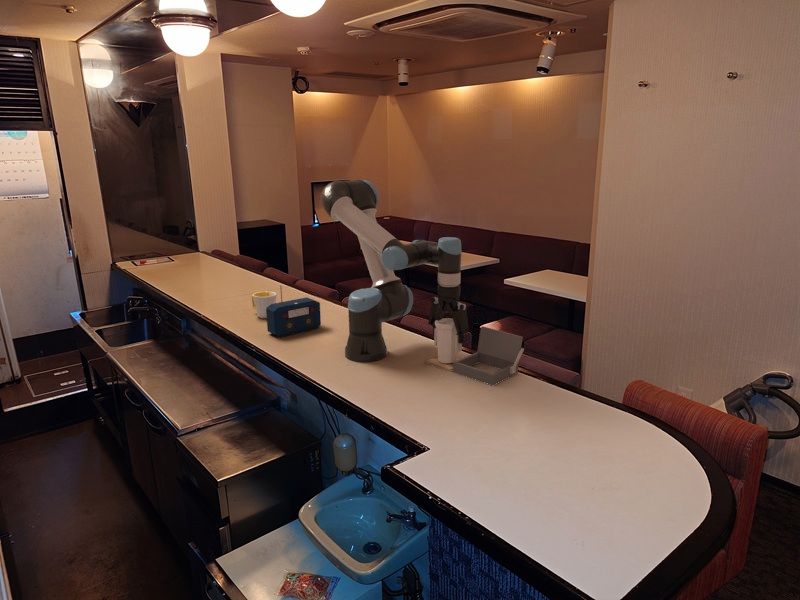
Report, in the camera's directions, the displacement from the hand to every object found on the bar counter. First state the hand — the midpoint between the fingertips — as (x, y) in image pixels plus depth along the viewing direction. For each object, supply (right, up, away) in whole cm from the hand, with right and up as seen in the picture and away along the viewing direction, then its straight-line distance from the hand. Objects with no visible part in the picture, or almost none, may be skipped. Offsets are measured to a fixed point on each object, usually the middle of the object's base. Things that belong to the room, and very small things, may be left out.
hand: (447, 348), depth 187 cm
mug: (-77, +9, +57) cm, 97 cm away
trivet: (0, -5, +1) cm, 5 cm away
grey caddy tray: (+13, -7, -7) cm, 16 cm away
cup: (0, -5, +1) cm, 5 cm away
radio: (-59, +4, +36) cm, 70 cm away
